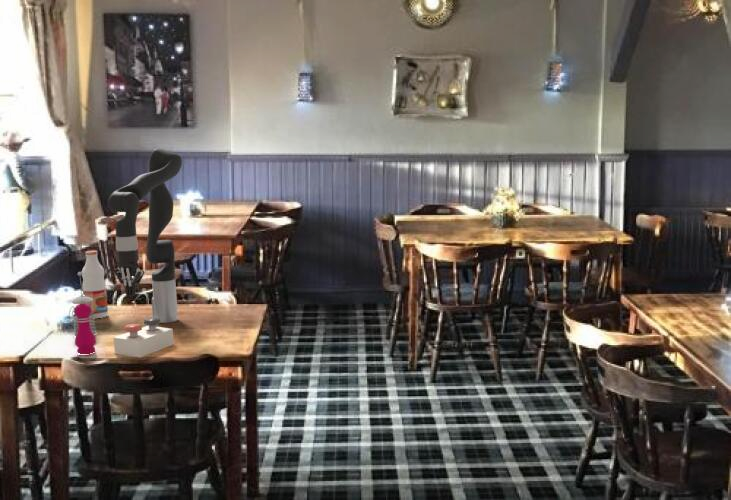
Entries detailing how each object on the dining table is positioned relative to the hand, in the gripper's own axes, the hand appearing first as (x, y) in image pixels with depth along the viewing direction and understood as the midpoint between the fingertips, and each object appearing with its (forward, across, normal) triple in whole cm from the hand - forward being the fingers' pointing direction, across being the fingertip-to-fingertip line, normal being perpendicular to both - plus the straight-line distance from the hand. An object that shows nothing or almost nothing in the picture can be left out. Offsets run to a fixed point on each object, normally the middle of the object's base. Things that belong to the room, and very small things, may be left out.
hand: (130, 295), depth 337 cm
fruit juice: (+21, -53, +34) cm, 66 cm away
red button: (+17, 0, 0) cm, 17 cm away
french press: (+21, -36, +10) cm, 43 cm away
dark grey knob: (+17, 0, +10) cm, 19 cm away
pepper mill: (+21, -16, -8) cm, 28 cm away
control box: (+21, 0, +5) cm, 22 cm away
